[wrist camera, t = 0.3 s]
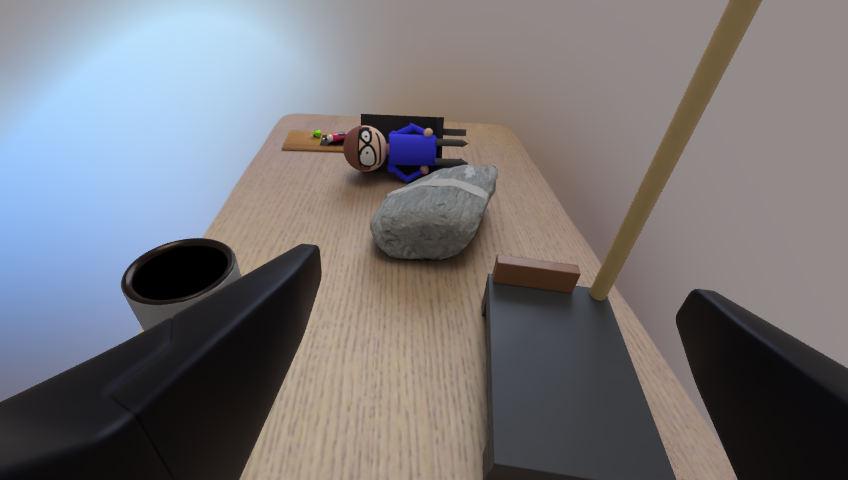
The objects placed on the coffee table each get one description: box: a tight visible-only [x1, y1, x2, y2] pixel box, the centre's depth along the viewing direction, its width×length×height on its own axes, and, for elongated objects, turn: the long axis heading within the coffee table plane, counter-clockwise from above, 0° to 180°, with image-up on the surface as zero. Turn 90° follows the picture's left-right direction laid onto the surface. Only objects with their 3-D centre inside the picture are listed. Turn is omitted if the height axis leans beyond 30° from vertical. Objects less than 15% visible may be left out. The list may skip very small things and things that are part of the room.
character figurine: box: [343, 114, 468, 183], centre depth 46 cm, size 8×7×15 cm
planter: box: [121, 238, 241, 331], centre depth 20 cm, size 4×4×10 cm
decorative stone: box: [370, 165, 498, 260], centre depth 37 cm, size 13×10×6 cm
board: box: [282, 130, 348, 152], centre depth 53 cm, size 6×12×2 cm, turn 95°
